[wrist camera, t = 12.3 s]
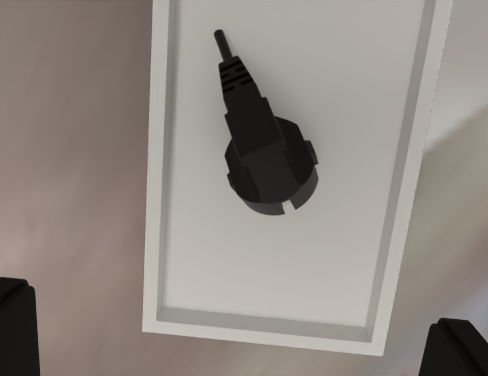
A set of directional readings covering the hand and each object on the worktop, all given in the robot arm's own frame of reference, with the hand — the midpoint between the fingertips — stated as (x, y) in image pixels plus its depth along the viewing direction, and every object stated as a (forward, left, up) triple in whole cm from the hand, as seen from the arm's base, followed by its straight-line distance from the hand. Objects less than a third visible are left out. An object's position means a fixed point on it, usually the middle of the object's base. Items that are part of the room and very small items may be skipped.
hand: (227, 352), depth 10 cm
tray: (0, +2, -21) cm, 21 cm away
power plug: (-4, 0, -21) cm, 21 cm away
